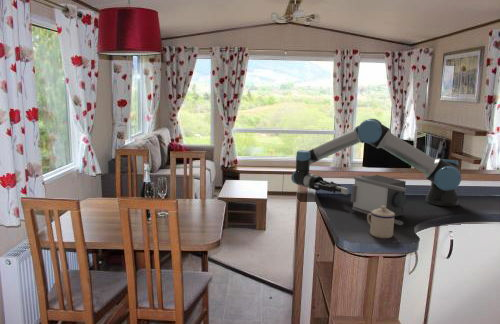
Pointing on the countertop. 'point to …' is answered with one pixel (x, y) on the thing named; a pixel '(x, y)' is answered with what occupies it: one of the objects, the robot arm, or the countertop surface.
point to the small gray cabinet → (394, 195)
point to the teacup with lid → (381, 222)
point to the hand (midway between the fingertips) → (346, 191)
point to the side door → (368, 195)
